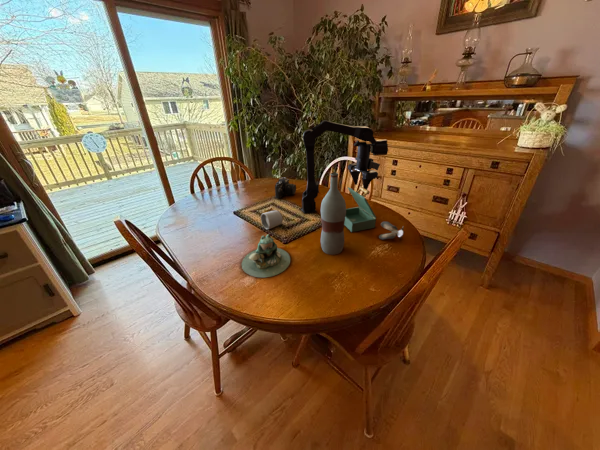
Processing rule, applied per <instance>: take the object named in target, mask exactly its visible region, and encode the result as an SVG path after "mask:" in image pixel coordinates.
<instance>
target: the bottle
mask: <svg viewBox="0 0 600 450" xmlns="http://www.w3.org/2000/svg"><path fill="white" fill-rule="evenodd" d="M329 175H330V182H329V183H330V184H329V190H328V191H327V193H326V194H325V196H323V199H322V200H321V204H320V216H321V217H320V220H321V233H320V247H321V250H322V252H323V253H325V254H327V255H331V256H332V255H333V256H335V255H338V254H341V252H343V249H344V248H345V247H344V246H345V241H346V240H345V231H344V228H345V225H344V222H345V216H346V209H347V204H346V200H345V198H344V196H343V195H342V193H341V192H340V190H339V173H338V172H331V173H330V174H329Z"/></svg>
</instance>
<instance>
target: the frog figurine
mask: <svg viewBox="0 0 600 450" xmlns="http://www.w3.org/2000/svg"><path fill="white" fill-rule="evenodd" d="M274 240H275V239H274V238H273V237H272V236H271V235H270V234H269V233H268V234H266V235H261V237H260V239H259V242H258V244H257V248H256V249H254V250H252V251H250V252H248V253H247V254H246V255H245V256H244V257H243V259H242V260H241V261H242V262H241V268H242V271H243V272H244V273H245V274H247V275H249V276H251V277H254V278H261V279H262V278H271V277H274V276H277V275H279V274H281V273H283V272H284V271H286V269H287V268H289V266H290V264H291V256H290V254H289V253H288V252H287V251H286V250H284V249H283V248H279V247H278V244H277V243H276V241H274Z"/></svg>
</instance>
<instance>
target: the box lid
mask: <svg viewBox="0 0 600 450" xmlns="http://www.w3.org/2000/svg"><path fill="white" fill-rule="evenodd" d="M347 190H348V191H349V193H350V194H351V196H352V198H353V199H354V202H356V204H357V207H360V208H362V209H363V210H364V211H366V212H367V213H369V214H370V215H371V216H373V217H374V218H375V219H376V220H377V218H378V217H377V216H376V214H375V212H374V210H373V209H372V207H371V205H370V203H369V201H368V199H367V198H366V197H365V196H367V195H370V193H371V191H370V190H369V189H368V188H367V189H365V188H363V186H360V187H359V189H358V190H356V191H355V190H354V189H353V188H352V187H347ZM360 192H363V194H361V193H360Z"/></svg>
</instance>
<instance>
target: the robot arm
mask: <svg viewBox="0 0 600 450" xmlns="http://www.w3.org/2000/svg"><path fill="white" fill-rule="evenodd" d="M326 131H327V132H333V133H337V134H341V135H347V136H350V137H353V138H356V139H357V140H356V141H355V142H354V143H353V146H354V147H357V154H356V157H355V158H354V160H355V161H356V162H353V163H349V164H348V165H347V170H348V172H349V174H350V176H351V178H352V181H353V183H354V186H355V185H356V186H357V185H358V183H359V178H360V174H361V182H362V187H363V188H365V189H367V190H368V188H369V186H370V184H371V182H372V181H374V180H376V179H377V178H378V177H379V172H378V171H379V168H380V166H381V163H378V162H376V161H374V159H373V158H371V157H370V155H371V154H372V155H373V156H387V155H388V152H389V144H388V139H378V140H377V139H376V138H375V137H374V131H373V129H372V128H370V127H368V126H366V125H356V126H355V125H348V124H343V123H338V122H334V121H330V120H327V119H324V120H322V121H321V122H320V123H318V124H316V125H315V126H313V127H312V128H308V129H306V130H304V131H303V133H302V141H303V145H304V150H305V153H306V154H305V155H306V172H307V182H306V189H305V190H304V191H303V192H302V198H301V208H300V210H301V211H302V212H303V214H304V215H305V214H311V213H316V212H317V210H316V209H317V201H316V198H317V197H318V196H319V194H320V183H319V181H316V170H315V147H316V139H318V138H319V137H320V136H322V135H323V134H324V133H325V132H326ZM367 142H369V143H367Z"/></svg>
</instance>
